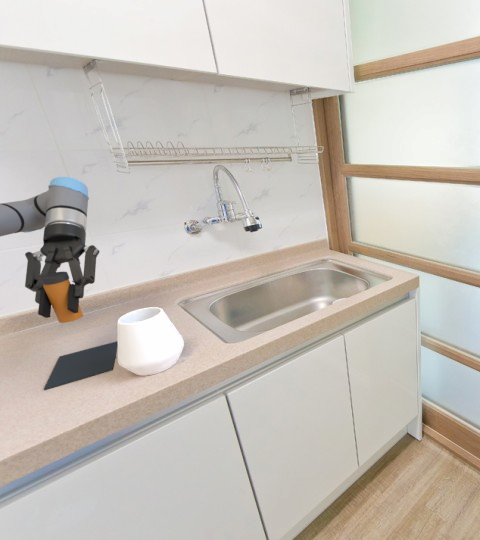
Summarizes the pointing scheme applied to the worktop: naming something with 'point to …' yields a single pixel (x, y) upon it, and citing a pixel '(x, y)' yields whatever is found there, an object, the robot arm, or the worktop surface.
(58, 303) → the vial
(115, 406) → the worktop surface
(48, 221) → the robot arm
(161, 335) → the white vase
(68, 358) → the mat
